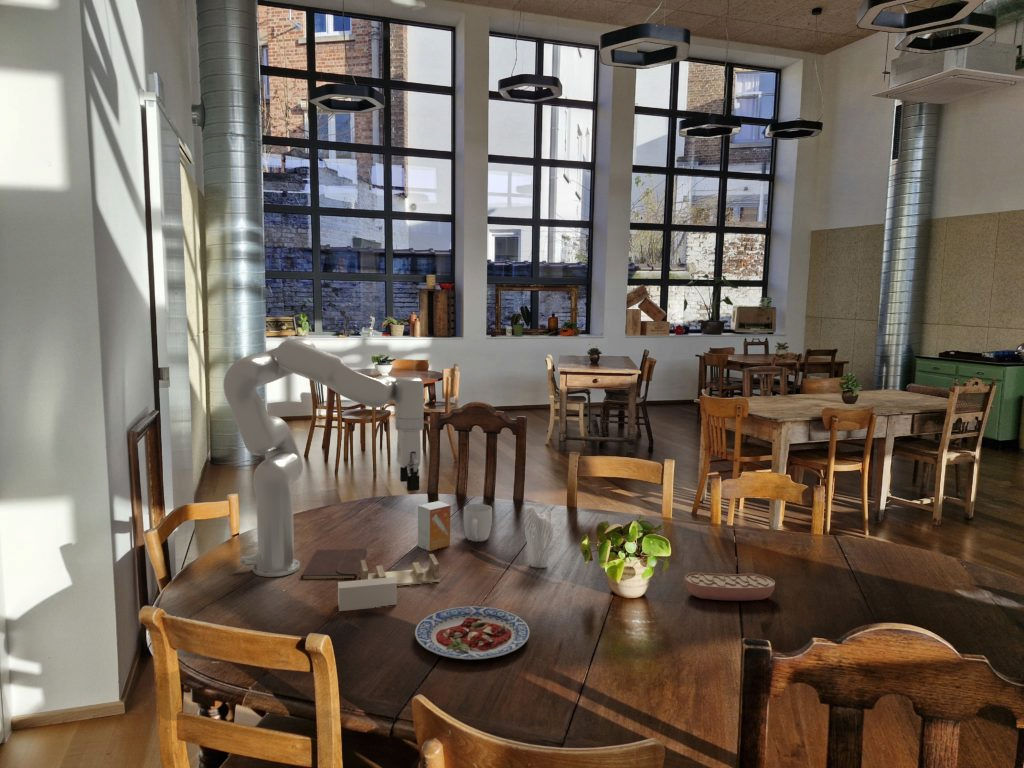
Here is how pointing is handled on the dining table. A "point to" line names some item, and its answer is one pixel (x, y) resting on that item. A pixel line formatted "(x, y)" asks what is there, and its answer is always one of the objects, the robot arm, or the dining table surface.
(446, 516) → the small box
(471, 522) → the mug
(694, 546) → the dining table surface
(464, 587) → the dining table surface
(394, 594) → the clay bar
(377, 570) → the rack
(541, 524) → the white fluted vase
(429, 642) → the ceramic plate
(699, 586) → the oval trinket tray
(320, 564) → the notebook
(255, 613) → the dining table surface
